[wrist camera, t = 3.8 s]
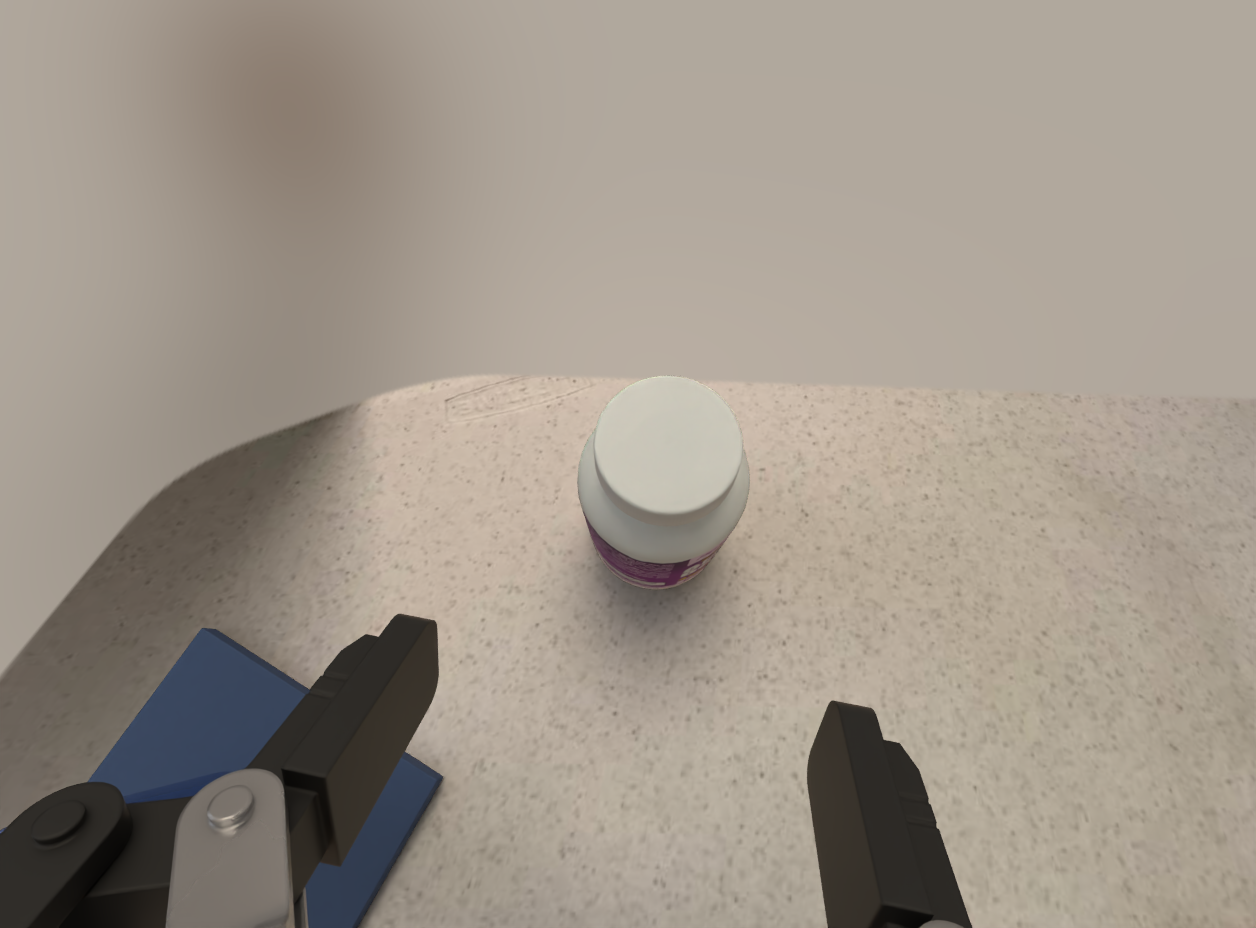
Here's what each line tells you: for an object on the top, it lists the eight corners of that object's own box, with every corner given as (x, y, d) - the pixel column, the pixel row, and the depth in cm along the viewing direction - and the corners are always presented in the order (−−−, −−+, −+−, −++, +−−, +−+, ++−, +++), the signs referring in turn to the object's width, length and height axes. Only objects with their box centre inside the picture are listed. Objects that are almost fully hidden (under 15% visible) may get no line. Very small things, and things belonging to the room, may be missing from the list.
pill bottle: (702, 608, 23) (745, 571, 14) (575, 570, 24) (538, 511, 15) (734, 483, 25) (789, 378, 16) (614, 450, 26) (601, 331, 16)
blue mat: (2, 918, 20) (-23, 927, 20) (215, 628, 23) (201, 627, 23) (247, 1119, 19) (231, 1138, 18) (444, 776, 22) (437, 780, 21)
